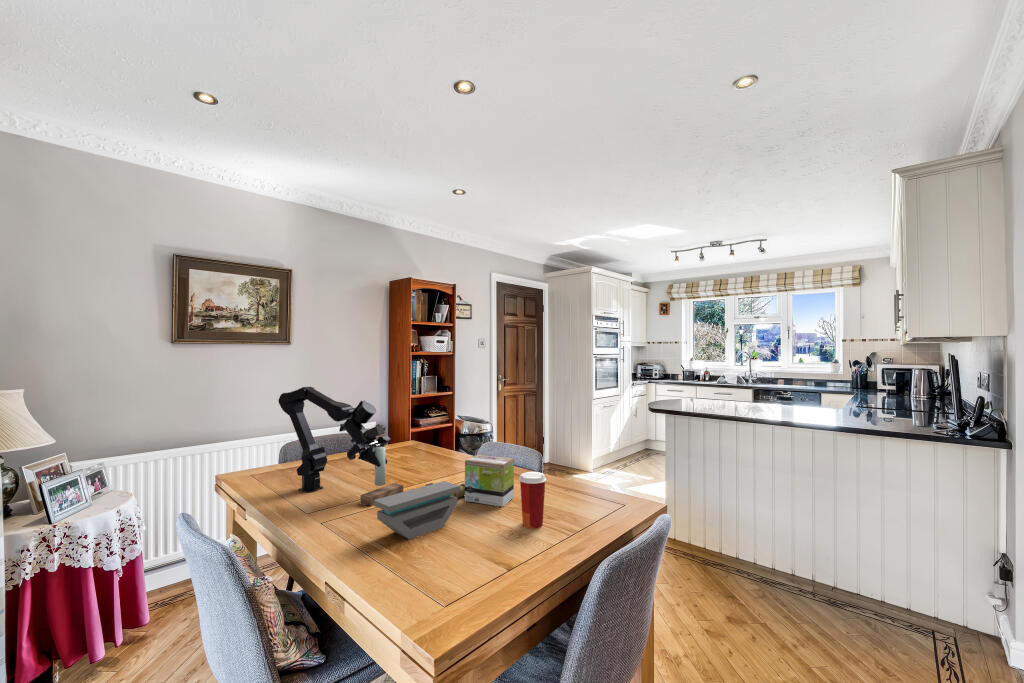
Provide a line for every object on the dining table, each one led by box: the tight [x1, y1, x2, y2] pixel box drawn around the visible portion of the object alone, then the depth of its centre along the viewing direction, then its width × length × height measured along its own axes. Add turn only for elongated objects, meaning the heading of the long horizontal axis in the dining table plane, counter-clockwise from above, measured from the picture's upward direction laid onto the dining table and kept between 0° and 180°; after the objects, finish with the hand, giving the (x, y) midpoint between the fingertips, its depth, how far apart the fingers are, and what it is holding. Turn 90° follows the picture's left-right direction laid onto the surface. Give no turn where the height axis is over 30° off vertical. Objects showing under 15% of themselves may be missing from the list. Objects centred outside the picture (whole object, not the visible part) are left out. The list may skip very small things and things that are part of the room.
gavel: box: [425, 482, 465, 499], centre depth 165 cm, size 21×5×10 cm
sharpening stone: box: [373, 480, 460, 540], centre depth 131 cm, size 25×8×11 cm, turn 138°
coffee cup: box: [518, 471, 547, 530], centre depth 135 cm, size 8×8×15 cm
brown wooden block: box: [359, 482, 404, 507], centre depth 159 cm, size 16×5×3 cm, turn 152°
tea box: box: [464, 454, 515, 508], centre depth 157 cm, size 15×10×15 cm
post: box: [374, 446, 386, 487], centre depth 160 cm, size 4×4×13 cm
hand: (383, 464), depth 159 cm, fingers closed on post, 4 cm apart
